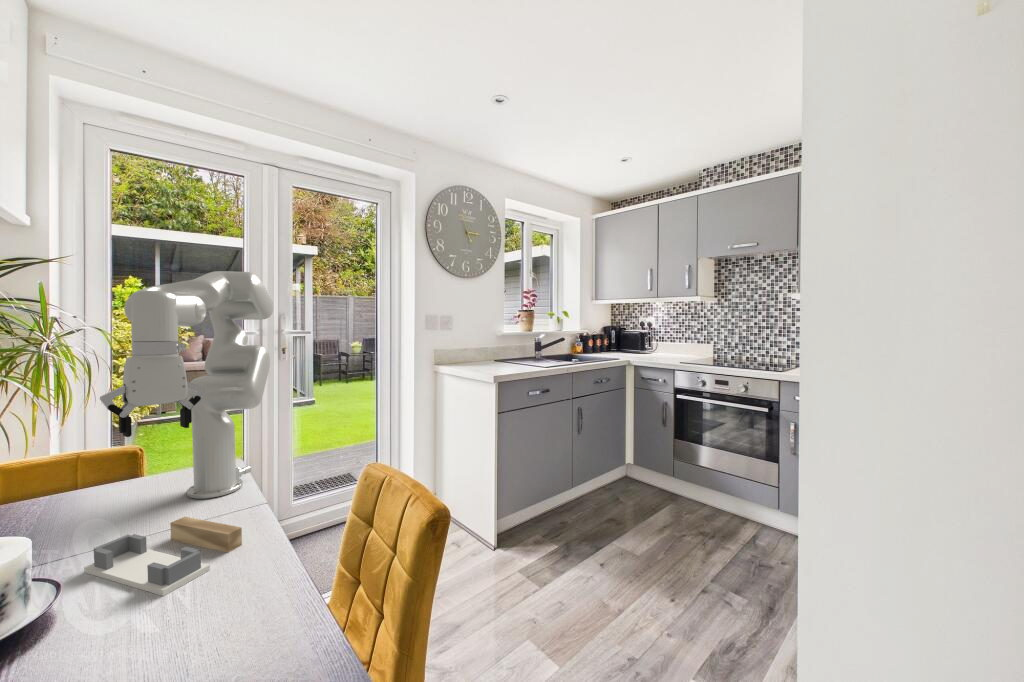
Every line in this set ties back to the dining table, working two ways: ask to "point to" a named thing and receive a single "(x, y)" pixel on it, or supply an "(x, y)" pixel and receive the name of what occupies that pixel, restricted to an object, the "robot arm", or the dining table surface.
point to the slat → (206, 534)
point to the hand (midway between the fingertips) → (157, 431)
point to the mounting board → (145, 565)
